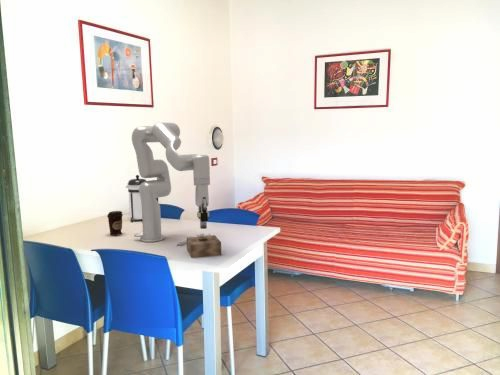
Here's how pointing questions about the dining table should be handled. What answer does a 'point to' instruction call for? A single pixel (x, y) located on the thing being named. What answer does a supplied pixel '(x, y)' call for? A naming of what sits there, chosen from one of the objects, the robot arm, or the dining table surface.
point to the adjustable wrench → (186, 240)
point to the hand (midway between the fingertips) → (203, 219)
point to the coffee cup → (115, 222)
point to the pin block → (203, 246)
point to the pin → (202, 224)
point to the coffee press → (135, 198)
